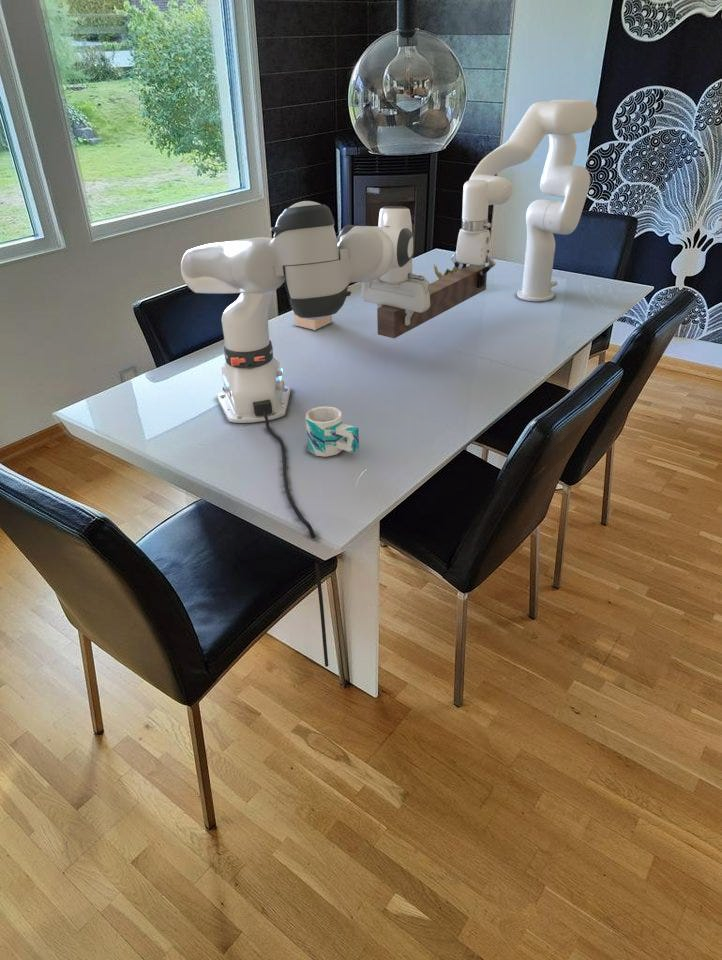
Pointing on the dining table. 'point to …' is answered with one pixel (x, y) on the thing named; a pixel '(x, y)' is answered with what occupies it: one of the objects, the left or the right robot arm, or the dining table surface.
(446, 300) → the bar
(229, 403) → the left robot arm
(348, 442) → the mug
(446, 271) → the jawbone
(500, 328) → the dining table surface
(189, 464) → the dining table surface
